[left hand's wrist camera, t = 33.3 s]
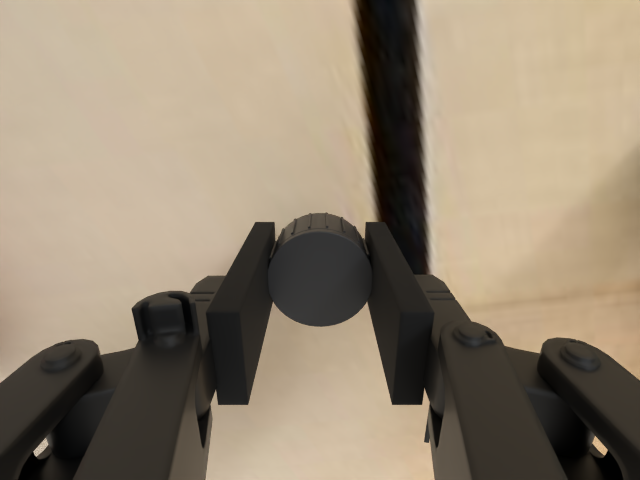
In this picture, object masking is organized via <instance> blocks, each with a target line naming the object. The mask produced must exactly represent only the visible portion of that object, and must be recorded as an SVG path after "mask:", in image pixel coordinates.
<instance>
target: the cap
mask: <svg viewBox="0 0 640 480" xmlns="http://www.w3.org/2000/svg"><path fill="white" fill-rule="evenodd" d="M368 256H370V255H369V252H368V249H367V246H366V243H365V240H364V238H363V239H362V237H361V235H360V234H359V232H358V231H357V229H356V227H355V226H353V225H351V224H350V223H349V222H348V221H346V220H344V219H343V217H341V218H340V217H338V216H335V215H331V214H328V213H315V214H311V213H309V215H305V216H302V217H300V218H298V219H294V221H293V222H291V223H290V224H289V225H288V226H287V227H286V228H285V229H284V228H283V229H282V232H281V234H280V236H279V237H278V240H277V241H275V243H274V246H273V249H272V252H271V255H270V258H269V259H271V260H270V263H269V267H268V284H269V294H270V296H271V298H272V300H273V302H274V303H275V305H276V306H277V307H278V309H279V310H280V311H281V312H282V313H284V314H285V315H286V316H288V317H289V318H290V319H292V320H294V321H296V322H299V323H301V324H305V325H309V326H320V327H322V326H331V325H335V324H339V323H342V322H344V321H346V320H348V319H350V318H351V317H353V316H354V315H355V314H357V313H358V312H359V311H360V310H361V309H362V308H363V306H364V305H365V304H366V302H367V300H368V299H369V297H370V294H371V288H372V266H371V263H370V260H369V257H368Z"/></svg>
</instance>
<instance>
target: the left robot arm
mask: <svg viewBox="0 0 640 480" xmlns="http://www.w3.org/2000/svg"><path fill="white" fill-rule="evenodd" d="M274 243H275V223H274V222H255V224H254V226H253V228H252V230H251V231H250V233H249V235H248V237H247V239H246V240H245V242H244V244H243V246H242V248H241V249H240V251H239V253H238V255H237V257H236V258H235V260H234V262H233V264H232V266H231V268H230V269H229V271H228V273H227V275H226V276H207V277H206V278H204V279H202V280H201V281H199V282H198V283H196V285H195V286H194V288H193V289H192V291H191V292H190V293H187V292H183V291H167V292H161V293H157V294H154V295H151V296H148V297H146V298H144V299H143V300H141V301H139V302H137V303H136V304H135V306H134V307H133V308H132V313H133V317H134V322H135V326H136V331H137V335H138V339H139V341H138V343H137V345H136V347H135V348H132V349H128V350H124V351H119V352H114V353H109V354H104V355H100V351H99V347H98V345H97V344H96V343H95V342H94V341H91V340H86V339H79V340H69V341H65V342H61V343H57V344H55V345H53V346H51V347H49V348H47V349H44V350H43V351H41V352H40V353H38V354H36V355H35V356H33V357H32V358H31V359H29V360H28V361H27V362H26V363H24V364H23V365H22V366H21V367H20V368H18V369H17V370H16V371H15V372H13V373H12V374H11V375H10V376H9V377H7V378H6V379H5V380H4V381H2V382H1V383H0V480H205V478H206V470H207V461H208V453H209V444H210V436H211V427H212V412H211V405H210V404H211V401H212V398H213V395H214V393H215V390H216V392H217V399H218V405H248V403H249V399H250V395H251V390H252V386H253V382H254V378H255V374H256V370H257V365H258V361H259V357H260V353H261V349H262V345H263V341H264V336H265V332H266V328H267V324H268V320H269V316H270V311H271V307H272V303H273V300H272V298H271V296H270V294H269V284H268V267H269V263H270V260H271V259H269V258H270V255H271V252H272V249H273V246H274ZM365 243H366V246H367V249H368V252H369V255H370V256H368V257H369V260H370V263H371V266H372V288H371V294H370V297H369V299H368V300H367V302H368V306H369V310H370V315H371V319H372V323H373V327H374V331H375V335H376V340H377V344H378V348H379V352H380V356H381V360H382V365H383V369H384V373H385V377H386V381H387V385H388V389H389V394H390V398H391V402H392V405H422V401H423V394H424V388H425V390H426V393H427V396H428V398H429V401H430V405H429V412H428V419H427V426H426V432H425V440H424V442H427V443H429V439H430V444H431V452H432V460H433V469H434V477H435V480H640V380H638V379H637V378H636V377H635V376H633V375H632V374H631V373H630V372H628V371H627V370H626V369H625V368H624V367H622V366H621V365H620V364H619V363H617V362H616V361H615V360H614V359H612V358H611V357H610V356H609V355H607V354H605V353H604V352H602V351H601V350H599V349H598V348H596V347H593V346H591V345H589V344H587V343H585V342H582V341H579V340H578V341H577V340H575V339H570V338H552V339H548V340H547V341H545V342H544V343H543V345H542V348H541V352H540V354H539V353H534V352H529V351H524V350H519V349H514V348H510V347H506V346H504V344H503V342H502V340H501V339H500V337H499V336H498V335H497V334H496V333H495V332H494V331H492V330H491V329H489V328H488V327H486V326H484V325H481V324H479V323H476V322H471V320H470V319H469V317H468V316H467V314H466V313H465V312H464V310H463V309H462V307H461V306H460V304H459V303H458V302H457V300H455V297H454V296H453V294H452V293H450V290H449V289H448V287H447V286H446V284H445V283H444V282H443V281H441V280H440V279H438V278H437V277H435V276H434V275H414V274H413V272H412V271H411V269H410V267H409V265H408V263H407V262H406V260H405V258H404V256H403V254H402V253H401V251H400V249H399V247H398V245H397V244H396V242H395V240H394V238H393V236H392V235H391V233H390V231H389V229H388V227H387V225H386V224H385V222H366V228H365ZM595 436H596V437H597V438H598V439H599V440H600V441H601V443H602V444H603V445H604V446H605V447H606V448H607V449H608V451H607V453H606V455H605V456H604V455H603V454H602V453H601V452H599V451H598V450H597V448H596V447H595V446H594V445H593V444H592V442H593V440H594V437H595ZM45 438H46V439H47V442H48V444H49V445H48V446H47V447H46V449H45V450H44V451H43V452H42V453H41V454H39V455H38V456H37V457H36V456H35V455H34V453H33V451H34V450H35V449H36V448H37V447H38V446H39V444H40V443H41V442H42V441H43V440H44V439H45Z"/></svg>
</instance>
